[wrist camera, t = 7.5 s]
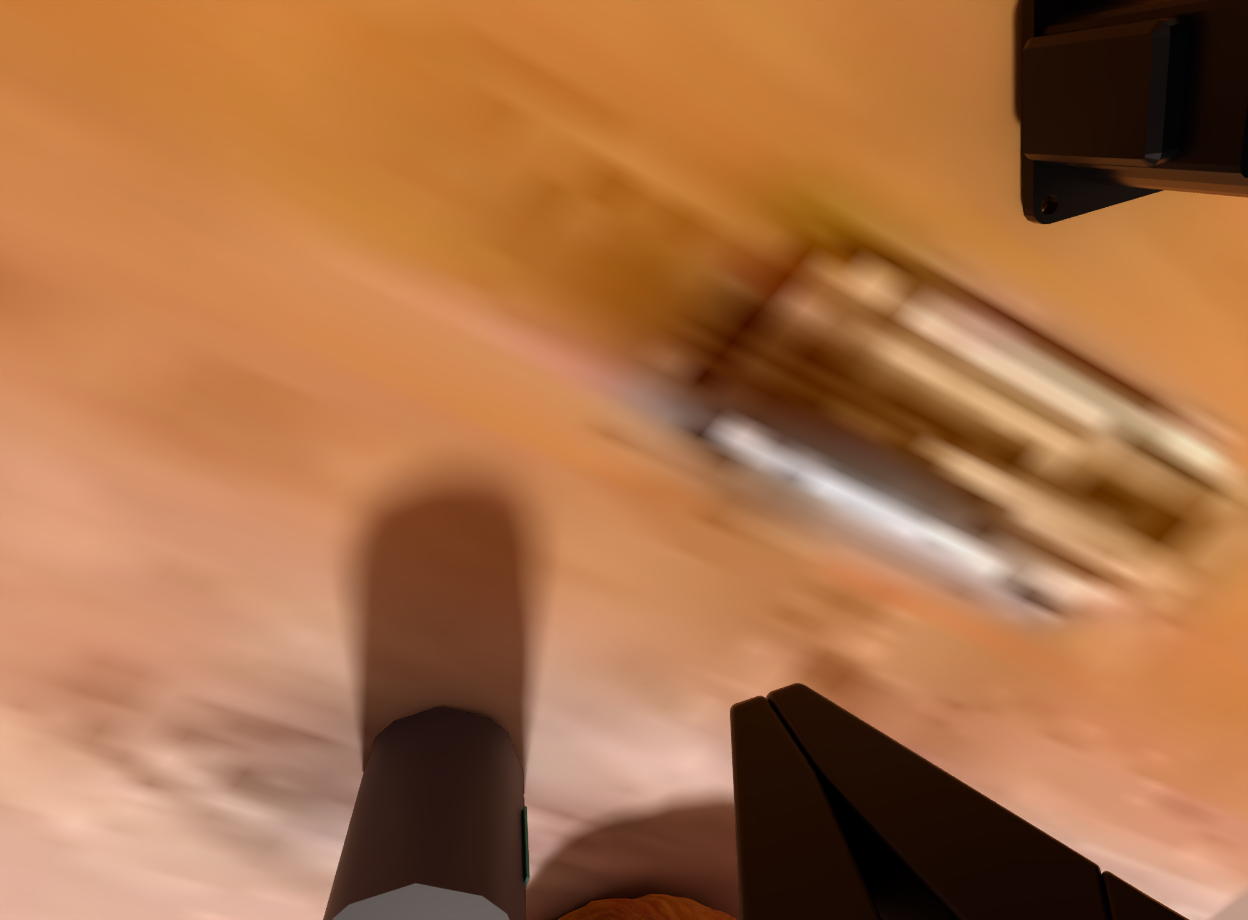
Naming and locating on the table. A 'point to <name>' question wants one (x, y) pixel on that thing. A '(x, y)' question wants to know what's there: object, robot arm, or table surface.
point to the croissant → (646, 909)
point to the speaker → (436, 825)
